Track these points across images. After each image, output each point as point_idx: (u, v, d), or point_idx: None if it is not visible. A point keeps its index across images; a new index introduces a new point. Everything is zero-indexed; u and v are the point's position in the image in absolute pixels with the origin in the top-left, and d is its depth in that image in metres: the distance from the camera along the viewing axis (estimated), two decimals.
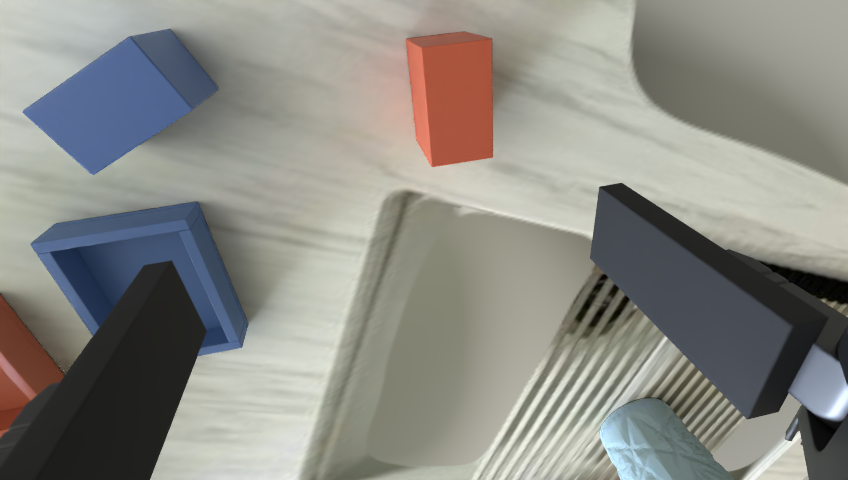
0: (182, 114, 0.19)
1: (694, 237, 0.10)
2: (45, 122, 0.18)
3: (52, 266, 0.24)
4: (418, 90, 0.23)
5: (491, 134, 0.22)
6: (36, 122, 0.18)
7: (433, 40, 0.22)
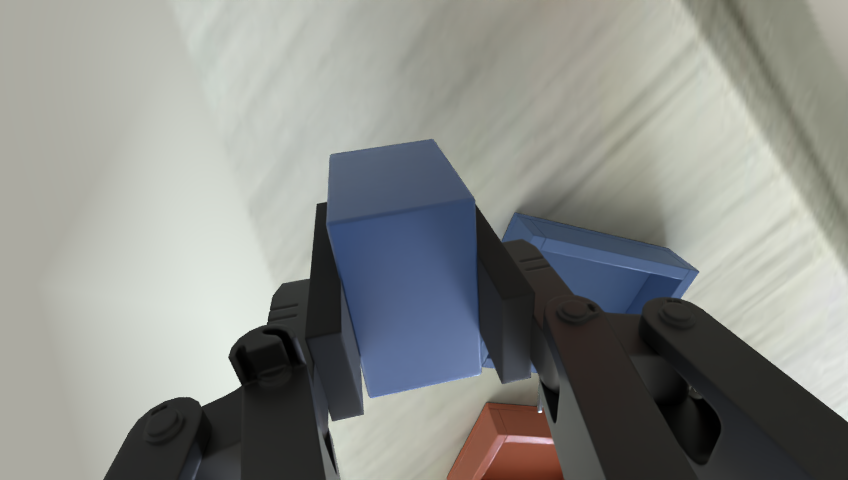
0: (474, 220, 0.10)
1: (482, 227, 0.12)
2: (393, 384, 0.12)
3: None
4: None
5: None
6: (388, 392, 0.12)
7: None
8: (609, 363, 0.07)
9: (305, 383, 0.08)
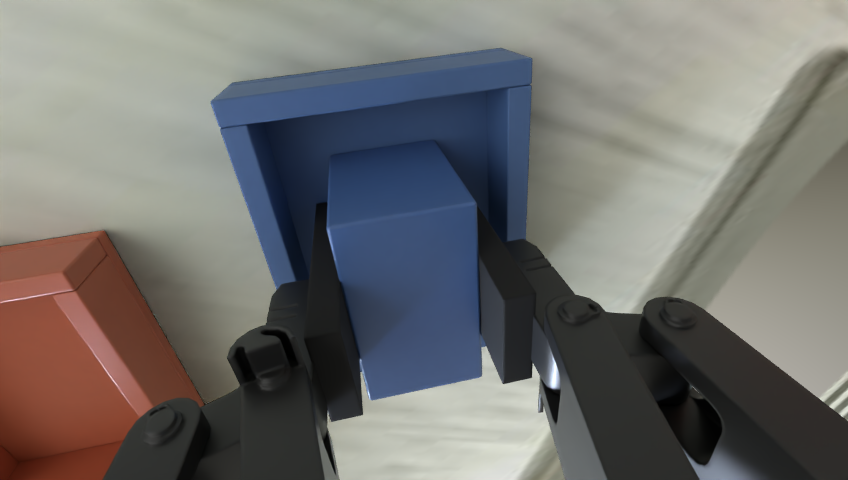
0: (475, 223, 0.10)
1: (483, 227, 0.12)
2: (394, 387, 0.12)
3: (245, 160, 0.11)
4: None
5: None
6: (389, 394, 0.12)
7: None
8: (610, 363, 0.07)
9: (304, 383, 0.08)
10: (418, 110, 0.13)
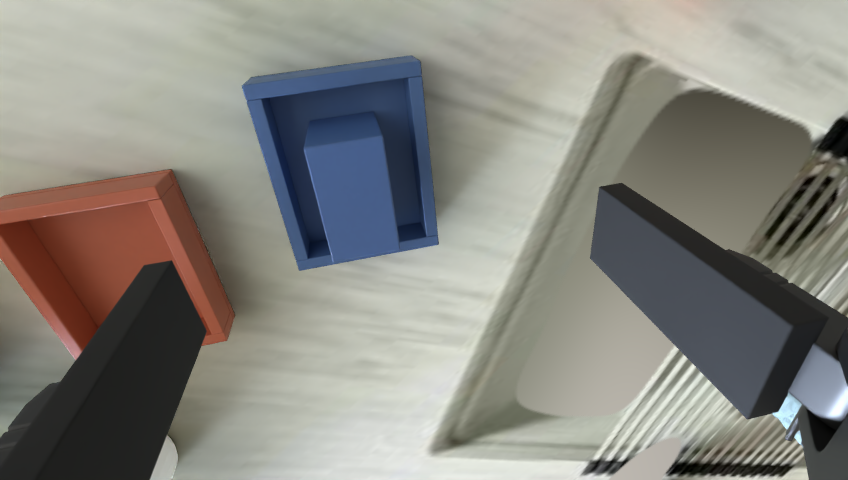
0: (383, 148, 0.19)
1: (694, 237, 0.10)
2: (346, 252, 0.21)
3: (260, 119, 0.20)
4: None
5: None
6: (344, 258, 0.21)
7: None
8: None
9: None
10: (362, 93, 0.22)
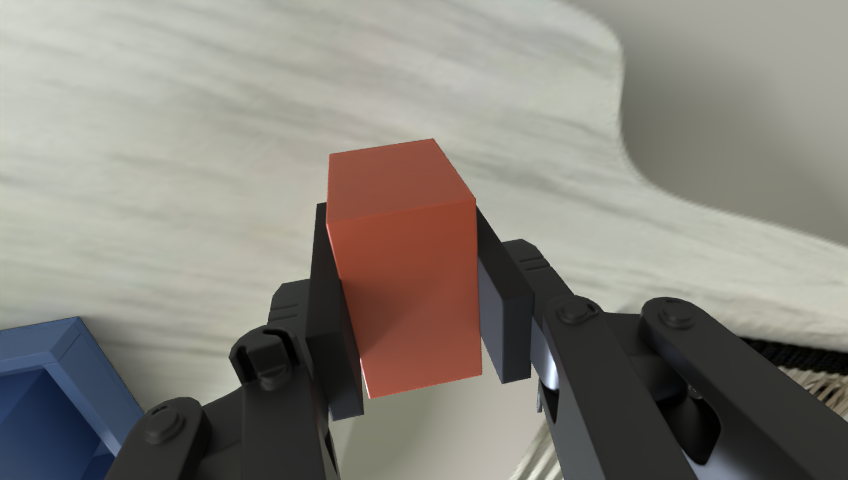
0: None
1: (482, 227, 0.12)
2: None
3: None
4: None
5: (478, 344, 0.12)
6: None
7: (366, 179, 0.11)
8: (608, 364, 0.07)
9: (305, 383, 0.08)
10: None
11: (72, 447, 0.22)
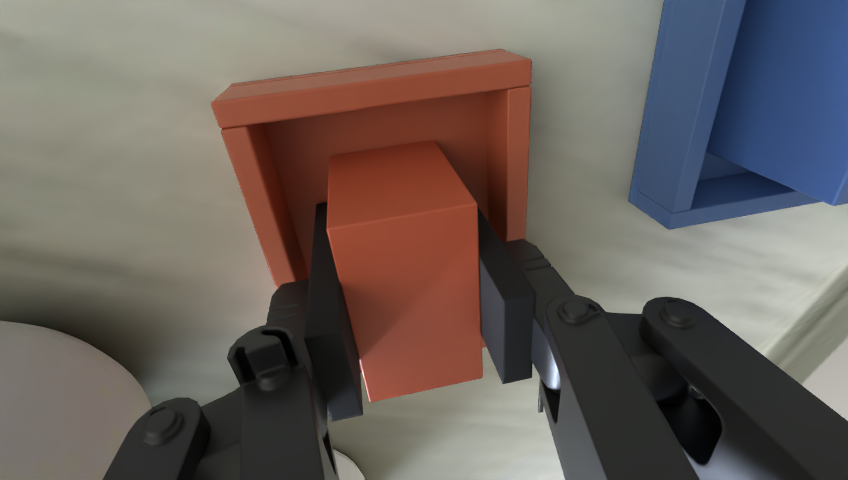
0: None
1: (483, 227, 0.12)
2: None
3: None
4: None
5: (479, 348, 0.12)
6: None
7: (366, 183, 0.11)
8: (610, 364, 0.07)
9: (304, 383, 0.08)
10: None
11: None
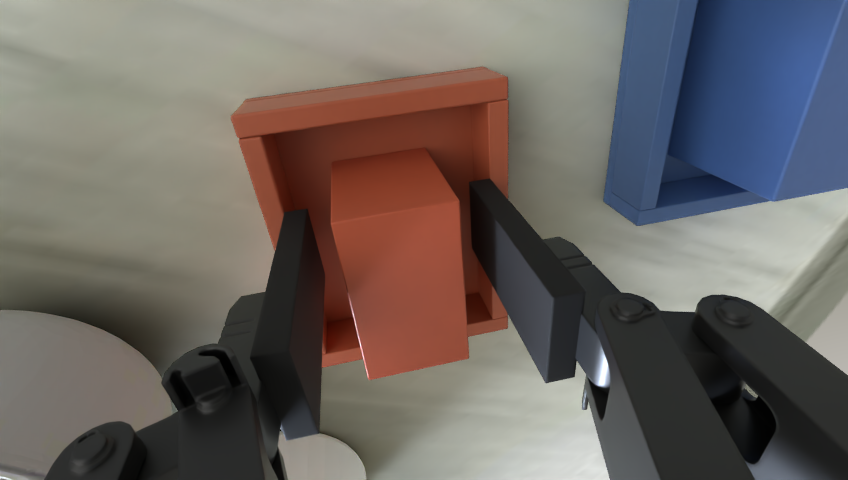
0: None
1: (521, 225, 0.12)
2: (799, 186, 0.13)
3: None
4: None
5: (465, 330, 0.14)
6: (790, 196, 0.13)
7: (365, 184, 0.13)
8: (664, 363, 0.07)
9: (247, 403, 0.07)
10: None
11: None
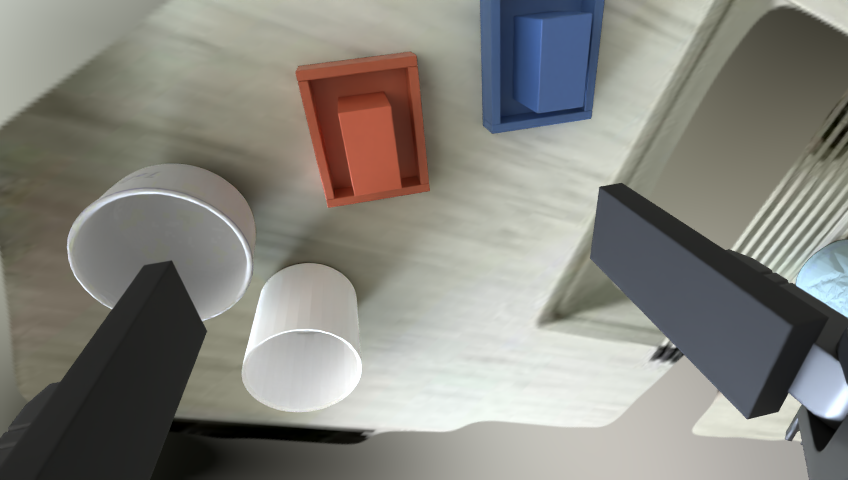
0: (591, 22, 0.27)
1: (694, 236, 0.10)
2: (548, 106, 0.29)
3: (496, 6, 0.28)
4: None
5: (398, 171, 0.30)
6: (545, 110, 0.30)
7: (352, 103, 0.29)
8: None
9: None
10: None
11: None
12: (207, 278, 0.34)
